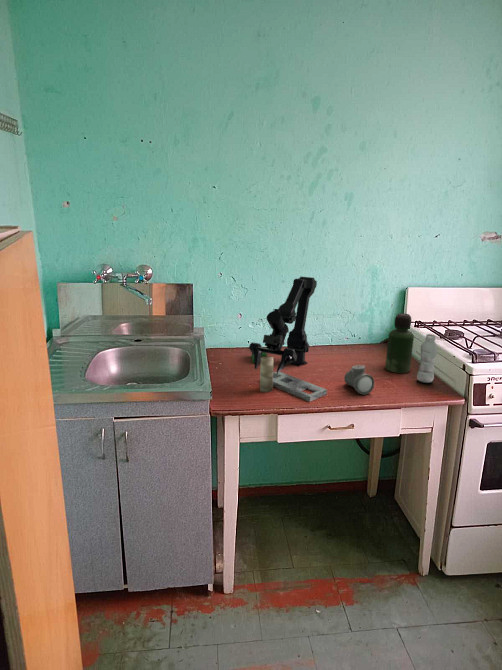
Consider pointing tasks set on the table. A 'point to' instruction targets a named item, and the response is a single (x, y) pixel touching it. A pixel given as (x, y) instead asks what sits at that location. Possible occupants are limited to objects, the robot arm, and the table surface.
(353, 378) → the pipe fitting
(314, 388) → the grey slotted plate
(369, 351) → the table surface
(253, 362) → the clamp
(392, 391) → the table surface
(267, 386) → the pin
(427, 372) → the plastic bottle
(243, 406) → the table surface
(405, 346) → the green bottle
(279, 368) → the robot arm
